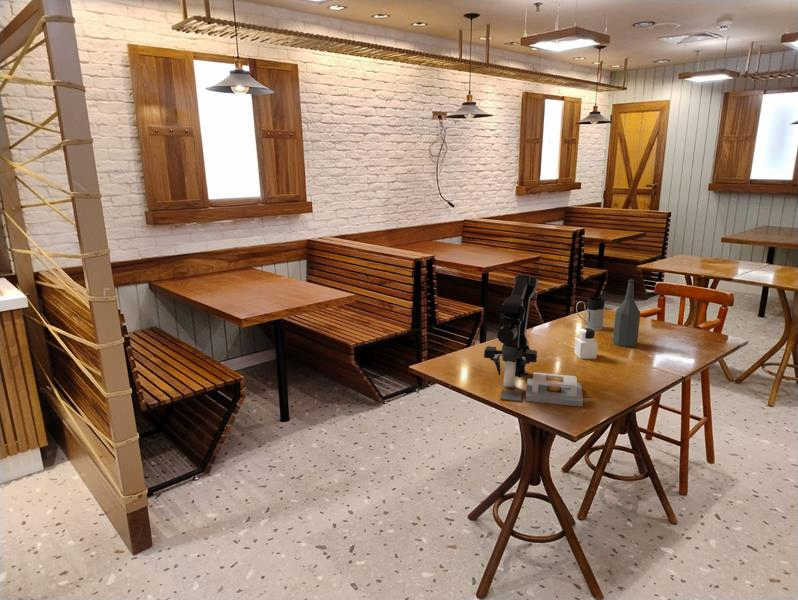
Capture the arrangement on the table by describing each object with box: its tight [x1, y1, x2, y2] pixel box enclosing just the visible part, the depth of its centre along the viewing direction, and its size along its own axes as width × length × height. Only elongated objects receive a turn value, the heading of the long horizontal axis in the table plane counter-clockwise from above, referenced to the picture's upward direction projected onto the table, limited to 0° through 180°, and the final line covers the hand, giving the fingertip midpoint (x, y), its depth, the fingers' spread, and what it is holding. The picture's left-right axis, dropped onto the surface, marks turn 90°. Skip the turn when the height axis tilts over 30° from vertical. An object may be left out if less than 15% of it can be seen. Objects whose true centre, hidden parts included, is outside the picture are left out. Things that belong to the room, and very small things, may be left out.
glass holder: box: [575, 296, 606, 331], centre depth 273 cm, size 9×14×15 cm, turn 91°
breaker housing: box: [525, 372, 584, 408], centre depth 195 cm, size 16×19×6 cm
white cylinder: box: [503, 361, 516, 390], centre depth 201 cm, size 4×4×11 cm
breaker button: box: [548, 379, 561, 392], centre depth 195 cm, size 4×4×2 cm
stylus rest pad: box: [500, 390, 523, 403], centre depth 194 cm, size 7×7×1 cm
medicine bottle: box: [573, 327, 599, 360], centre depth 233 cm, size 7×7×12 cm
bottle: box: [612, 279, 641, 348], centre depth 246 cm, size 10×10×30 cm
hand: (509, 376), depth 202 cm, fingers open, 7 cm apart
